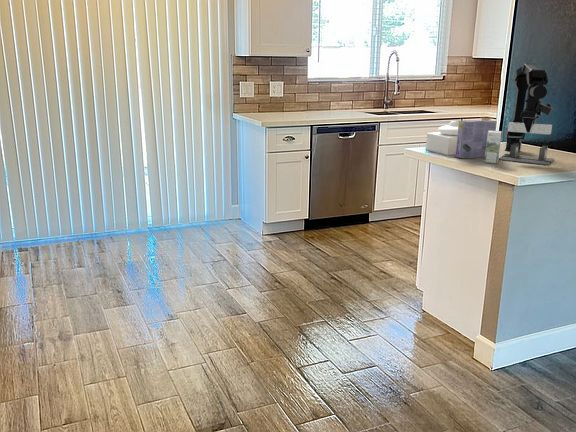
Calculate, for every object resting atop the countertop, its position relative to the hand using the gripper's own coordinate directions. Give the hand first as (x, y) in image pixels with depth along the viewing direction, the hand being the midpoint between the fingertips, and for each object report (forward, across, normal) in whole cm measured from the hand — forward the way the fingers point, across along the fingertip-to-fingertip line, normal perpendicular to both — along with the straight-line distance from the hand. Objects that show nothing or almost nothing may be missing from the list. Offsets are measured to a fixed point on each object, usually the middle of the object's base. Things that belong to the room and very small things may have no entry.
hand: (529, 132), depth 255 cm
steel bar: (0, 0, 0) cm, 0 cm away
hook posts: (+14, +7, 0) cm, 15 cm away
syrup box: (+14, -13, +12) cm, 23 cm away
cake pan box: (+14, -4, +22) cm, 27 cm away
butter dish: (+14, +6, +37) cm, 40 cm away
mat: (+14, -1, 0) cm, 14 cm away
